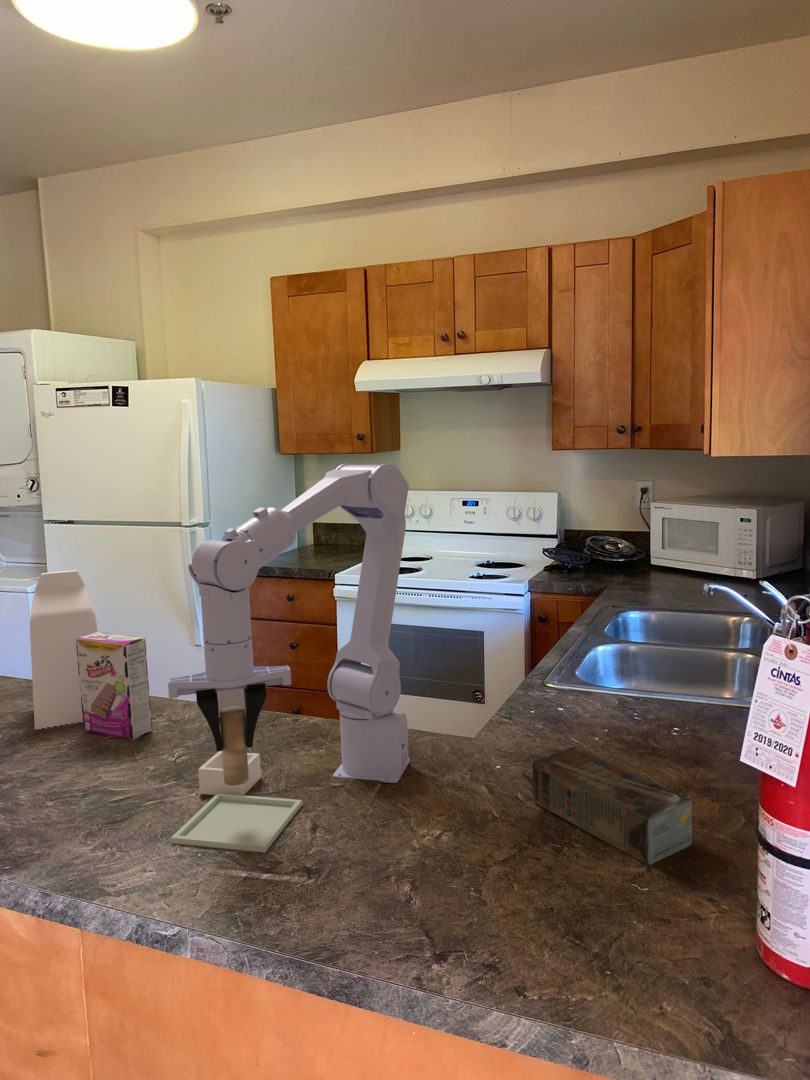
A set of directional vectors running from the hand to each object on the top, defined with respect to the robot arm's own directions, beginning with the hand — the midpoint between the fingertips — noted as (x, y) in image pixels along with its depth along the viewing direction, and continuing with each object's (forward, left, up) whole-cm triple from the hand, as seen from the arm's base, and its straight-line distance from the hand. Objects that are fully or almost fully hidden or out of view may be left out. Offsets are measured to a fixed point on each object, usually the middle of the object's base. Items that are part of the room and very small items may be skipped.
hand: (234, 746), depth 97 cm
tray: (0, 0, -10) cm, 10 cm away
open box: (+6, -10, -10) cm, 15 cm away
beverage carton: (-45, -9, -11) cm, 47 cm away
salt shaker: (+19, -37, -11) cm, 43 cm away
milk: (+49, -34, -11) cm, 60 cm away
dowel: (0, 0, -4) cm, 4 cm away
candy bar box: (+35, -27, -11) cm, 45 cm away
